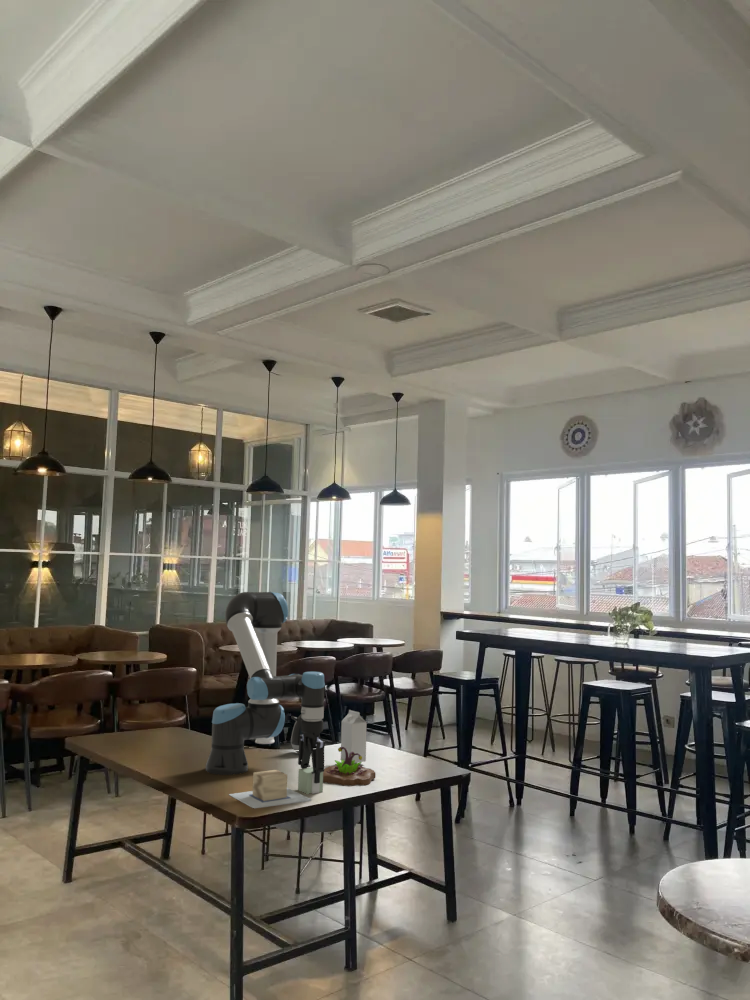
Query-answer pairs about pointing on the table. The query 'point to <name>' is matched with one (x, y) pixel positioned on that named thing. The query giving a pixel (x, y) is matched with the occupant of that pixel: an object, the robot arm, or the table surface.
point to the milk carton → (354, 736)
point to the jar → (265, 740)
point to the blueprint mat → (258, 803)
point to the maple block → (269, 785)
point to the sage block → (307, 780)
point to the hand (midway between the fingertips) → (310, 790)
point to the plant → (348, 772)
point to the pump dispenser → (296, 733)
